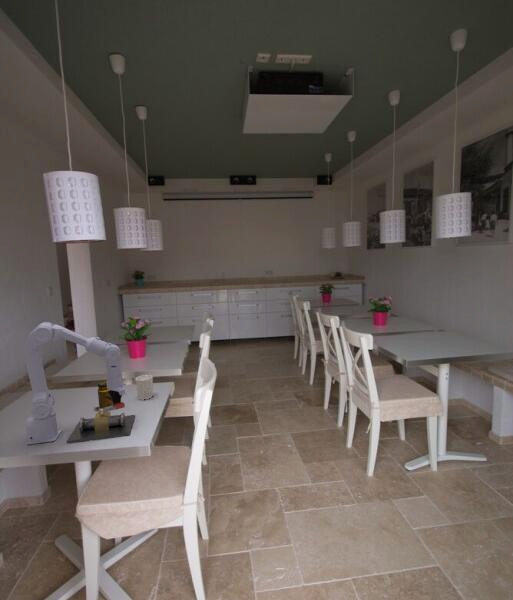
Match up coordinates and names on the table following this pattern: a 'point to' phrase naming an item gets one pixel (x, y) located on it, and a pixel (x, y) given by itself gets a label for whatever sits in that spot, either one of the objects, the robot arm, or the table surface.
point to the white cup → (144, 386)
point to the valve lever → (111, 408)
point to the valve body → (102, 427)
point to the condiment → (103, 396)
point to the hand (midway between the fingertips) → (117, 406)
